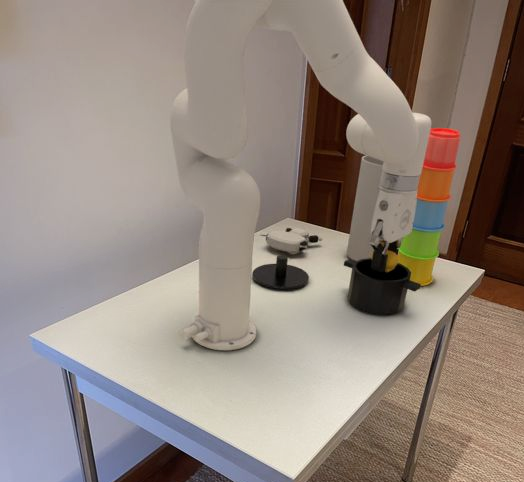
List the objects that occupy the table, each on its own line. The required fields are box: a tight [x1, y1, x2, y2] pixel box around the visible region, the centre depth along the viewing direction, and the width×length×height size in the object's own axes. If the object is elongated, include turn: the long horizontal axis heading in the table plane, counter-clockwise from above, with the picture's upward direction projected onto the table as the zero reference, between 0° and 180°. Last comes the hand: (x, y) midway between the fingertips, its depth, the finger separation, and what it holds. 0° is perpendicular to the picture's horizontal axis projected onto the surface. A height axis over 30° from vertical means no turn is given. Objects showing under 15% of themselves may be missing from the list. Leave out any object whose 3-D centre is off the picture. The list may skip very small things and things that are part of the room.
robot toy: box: [259, 227, 323, 255], centre depth 142 cm, size 12×4×15 cm
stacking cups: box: [397, 127, 462, 287], centre depth 122 cm, size 10×10×35 cm
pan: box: [343, 258, 422, 317], centre depth 116 cm, size 12×18×8 cm
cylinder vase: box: [346, 155, 384, 261], centre depth 134 cm, size 12×12×25 cm
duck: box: [371, 241, 398, 272], centre depth 112 cm, size 7×4×6 cm, turn 49°
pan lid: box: [251, 254, 310, 290], centre depth 124 cm, size 13×13×6 cm
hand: (383, 266), depth 114 cm, fingers closed on duck, 3 cm apart
